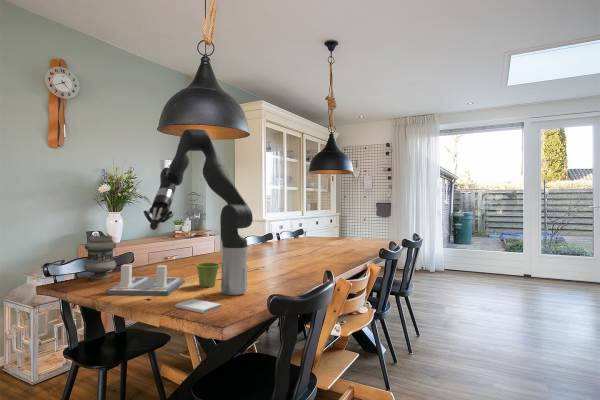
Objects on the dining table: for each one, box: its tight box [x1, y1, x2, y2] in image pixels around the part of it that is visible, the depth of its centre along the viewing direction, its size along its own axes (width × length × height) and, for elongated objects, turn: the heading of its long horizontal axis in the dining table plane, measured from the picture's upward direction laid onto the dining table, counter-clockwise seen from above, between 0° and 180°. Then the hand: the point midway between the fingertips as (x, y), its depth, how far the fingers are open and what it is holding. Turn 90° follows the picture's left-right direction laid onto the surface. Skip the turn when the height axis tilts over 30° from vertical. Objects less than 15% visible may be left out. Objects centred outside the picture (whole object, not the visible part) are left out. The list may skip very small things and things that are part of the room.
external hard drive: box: [174, 298, 223, 314], centre depth 117 cm, size 2×8×12 cm
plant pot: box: [195, 262, 221, 288], centre depth 146 cm, size 9×9×9 cm
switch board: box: [105, 276, 186, 296], centre depth 140 cm, size 22×21×2 cm
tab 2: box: [155, 264, 168, 288], centre depth 135 cm, size 3×4×8 cm
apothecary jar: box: [83, 235, 117, 282], centre depth 155 cm, size 12×12×18 cm
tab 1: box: [119, 264, 133, 287], centre depth 135 cm, size 3×4×8 cm
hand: (153, 228), depth 152 cm, fingers closed
